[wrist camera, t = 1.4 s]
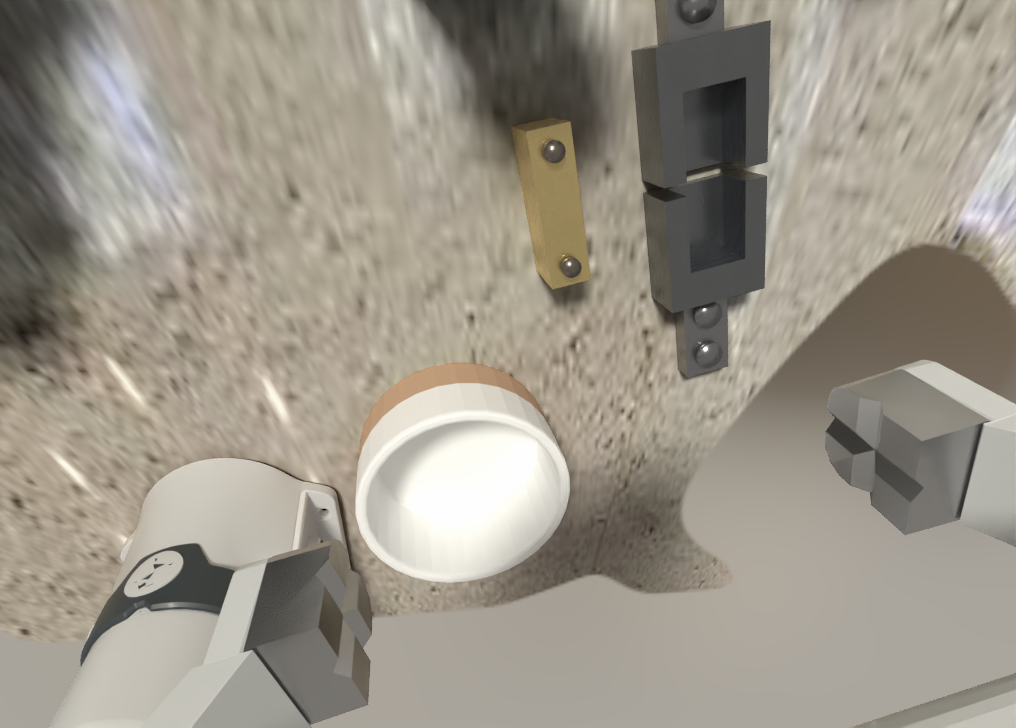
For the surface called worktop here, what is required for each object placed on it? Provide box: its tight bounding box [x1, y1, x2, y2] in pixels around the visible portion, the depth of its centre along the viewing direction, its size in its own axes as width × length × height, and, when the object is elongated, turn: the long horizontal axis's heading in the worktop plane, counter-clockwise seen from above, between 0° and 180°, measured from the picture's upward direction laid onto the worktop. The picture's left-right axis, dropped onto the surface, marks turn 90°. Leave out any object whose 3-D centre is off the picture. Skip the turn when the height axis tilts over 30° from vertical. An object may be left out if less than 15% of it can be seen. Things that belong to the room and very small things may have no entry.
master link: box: [511, 118, 591, 290], centre depth 40 cm, size 11×3×6 cm, turn 11°
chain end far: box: [643, 169, 767, 378], centre depth 46 cm, size 17×8×4 cm, turn 12°
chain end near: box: [632, 0, 771, 188], centre depth 38 cm, size 17×8×4 cm, turn 12°
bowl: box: [356, 363, 570, 583], centre depth 48 cm, size 17×17×8 cm
